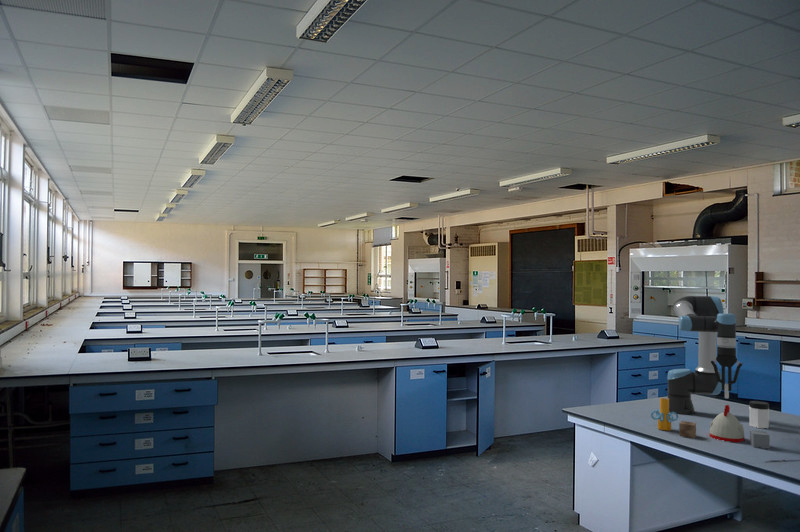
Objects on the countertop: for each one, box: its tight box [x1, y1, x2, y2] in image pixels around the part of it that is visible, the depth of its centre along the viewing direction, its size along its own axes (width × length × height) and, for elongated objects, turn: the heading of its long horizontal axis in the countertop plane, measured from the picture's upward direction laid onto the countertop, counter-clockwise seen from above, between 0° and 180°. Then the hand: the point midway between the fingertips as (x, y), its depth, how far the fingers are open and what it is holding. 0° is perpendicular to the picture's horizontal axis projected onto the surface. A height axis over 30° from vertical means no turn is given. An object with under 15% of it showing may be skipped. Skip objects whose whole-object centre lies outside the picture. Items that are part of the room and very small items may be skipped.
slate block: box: [749, 429, 771, 450], centre depth 240 cm, size 6×6×6 cm
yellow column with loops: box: [650, 397, 679, 432], centre depth 266 cm, size 12×10×15 cm
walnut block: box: [678, 420, 697, 439], centre depth 255 cm, size 6×6×6 cm
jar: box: [748, 400, 770, 429], centre depth 274 cm, size 9×8×12 cm
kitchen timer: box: [709, 404, 745, 443], centre depth 253 cm, size 14×14×15 cm
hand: (726, 397), depth 253 cm, fingers closed
